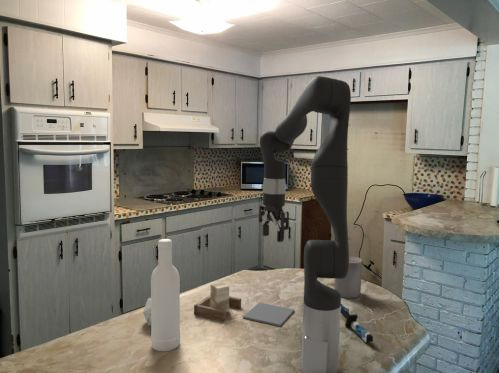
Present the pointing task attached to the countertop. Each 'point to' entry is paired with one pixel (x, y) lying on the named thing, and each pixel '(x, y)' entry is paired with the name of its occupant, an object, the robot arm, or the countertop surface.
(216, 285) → the ash block
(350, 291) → the pillar candle
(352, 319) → the knife
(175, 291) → the bottle
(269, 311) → the pad
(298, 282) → the countertop surface
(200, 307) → the stall
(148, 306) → the die
